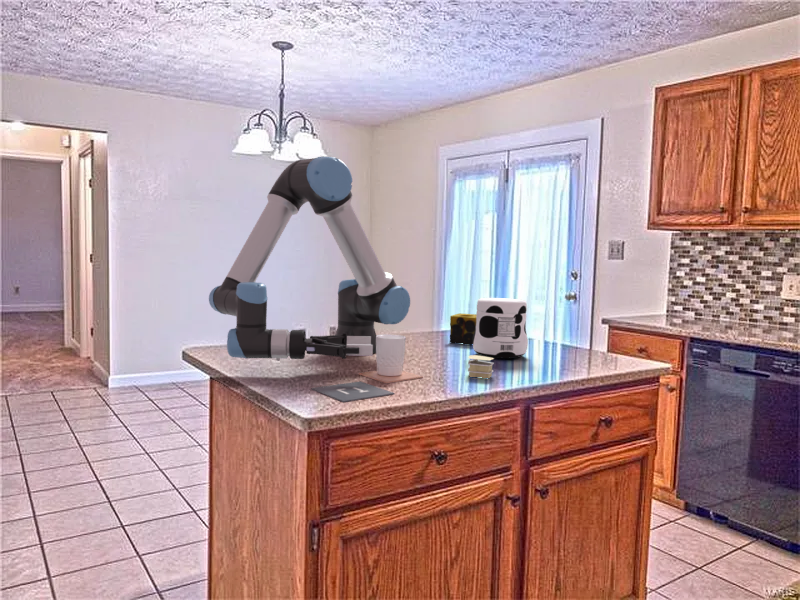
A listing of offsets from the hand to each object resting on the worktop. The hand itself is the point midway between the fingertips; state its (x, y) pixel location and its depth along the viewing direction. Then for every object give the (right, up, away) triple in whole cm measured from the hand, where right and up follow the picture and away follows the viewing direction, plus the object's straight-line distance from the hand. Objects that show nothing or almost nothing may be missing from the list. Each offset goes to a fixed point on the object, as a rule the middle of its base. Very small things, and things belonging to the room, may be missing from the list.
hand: (371, 345), depth 162 cm
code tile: (-4, -10, -17) cm, 20 cm away
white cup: (+5, -8, +2) cm, 9 cm away
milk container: (+39, -6, +36) cm, 53 cm away
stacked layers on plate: (+29, -9, +4) cm, 30 cm away
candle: (+32, -4, +61) cm, 69 cm away
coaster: (+5, -8, +1) cm, 10 cm away
